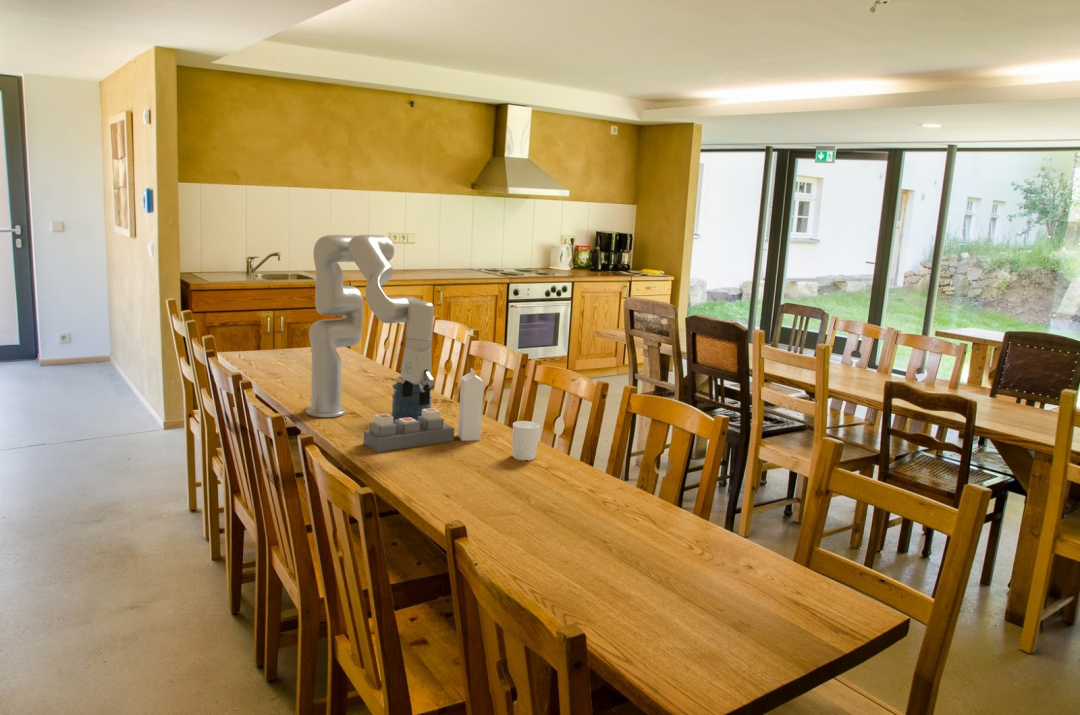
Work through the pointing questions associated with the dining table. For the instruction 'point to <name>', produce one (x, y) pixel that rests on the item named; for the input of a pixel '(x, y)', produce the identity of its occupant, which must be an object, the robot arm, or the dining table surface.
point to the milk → (470, 407)
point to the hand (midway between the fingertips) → (415, 400)
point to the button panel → (407, 435)
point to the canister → (407, 402)
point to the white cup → (525, 440)
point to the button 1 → (383, 420)
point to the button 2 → (407, 420)
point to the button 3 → (430, 414)
